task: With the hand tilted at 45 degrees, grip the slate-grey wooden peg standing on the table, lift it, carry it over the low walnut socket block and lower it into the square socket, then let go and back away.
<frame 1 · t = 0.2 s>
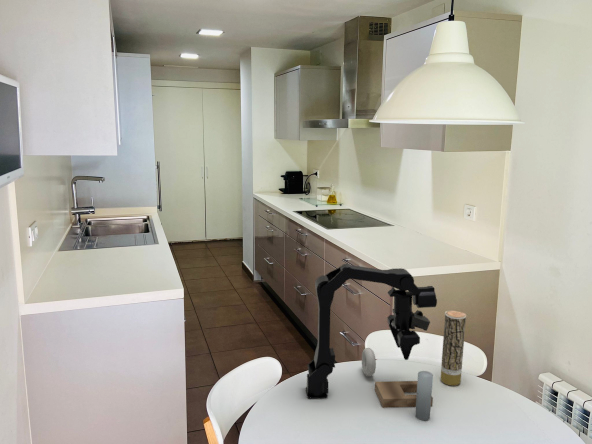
hand: (402, 353, 162), 14 cm above the table, tool pointing down, fingers open, 9 cm apart
peg: (422, 416, 151), on the table
bark textured cylinder: (450, 382, 173), on the table
donut: (368, 375, 177), on the table
socket block: (402, 398, 162), on the table
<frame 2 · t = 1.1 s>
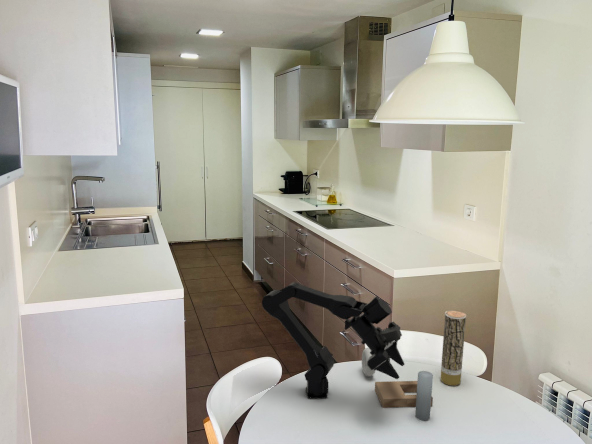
hand: (400, 371, 151), 13 cm above the table, tool tilted 45°, fingers open, 9 cm apart
nothing on the table moved.
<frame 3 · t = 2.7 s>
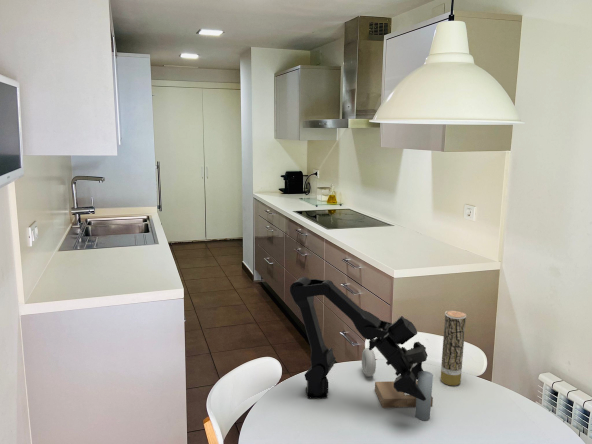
hand: (426, 392, 149), 8 cm above the table, tool tilted 45°, fingers open, 9 cm apart
nothing on the table moved.
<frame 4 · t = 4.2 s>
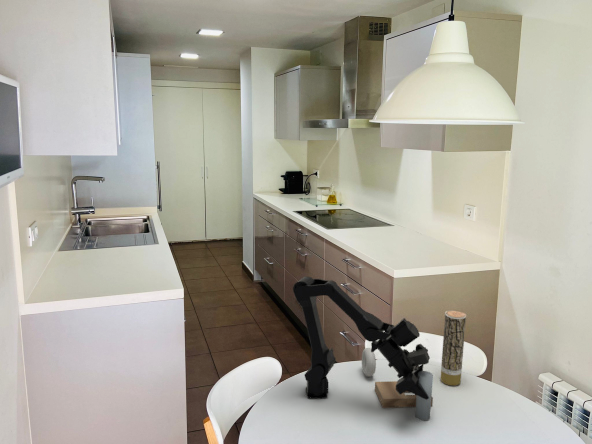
hand: (428, 394, 149), 8 cm above the table, tool tilted 45°, fingers closed on peg, 4 cm apart
peg: (422, 416, 151), on the table, touching gripper
everything else where it was.
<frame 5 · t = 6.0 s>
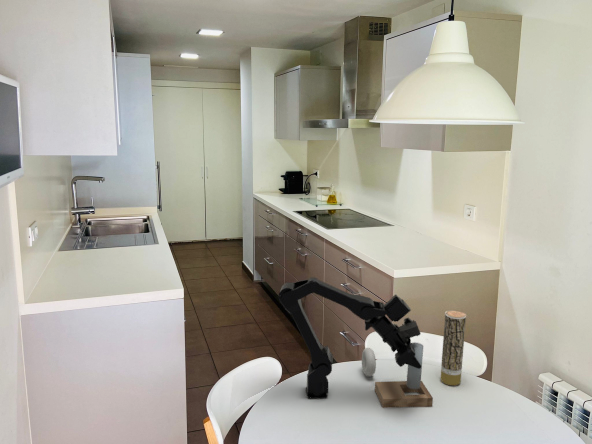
hand: (419, 364, 159), 12 cm above the table, tool tilted 45°, fingers closed on peg, 4 cm apart
peg: (413, 385, 160), point 5 cm above the table, touching gripper
everything else where it was.
when the fingers open (8 cm above the table, at t = 7.8 s): peg stays where it is, resting in socket block.
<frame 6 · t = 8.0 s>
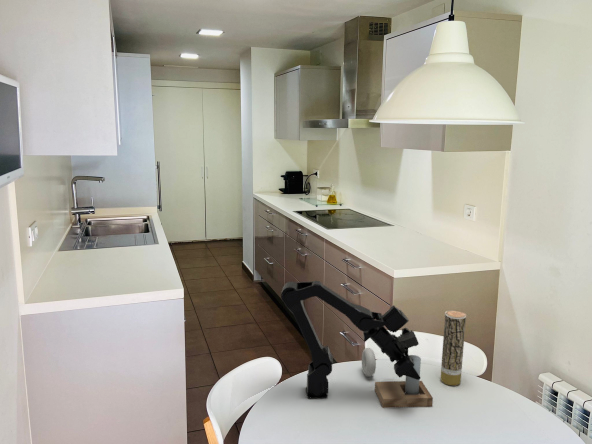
hand: (417, 373, 160), 9 cm above the table, tool tilted 45°, fingers open, 6 cm apart
peg: (411, 397, 162), resting in socket block
everything else where it was.
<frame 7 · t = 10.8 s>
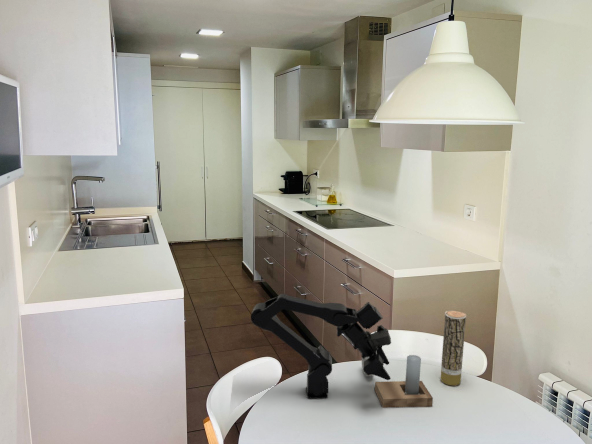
hand: (388, 371, 161), 9 cm above the table, tool tilted 40°, fingers open, 9 cm apart
nothing on the table moved.
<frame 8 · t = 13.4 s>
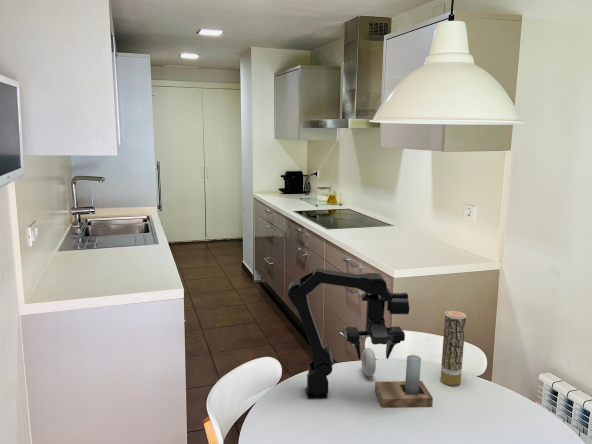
hand: (373, 358, 161), 13 cm above the table, tool pointing down, fingers open, 9 cm apart
nothing on the table moved.
at the end: peg 0.1 cm from the target spot on the socket block, point 0.0 cm above the socket block's base; peg tilted 0°; the gripper is holding nothing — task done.
